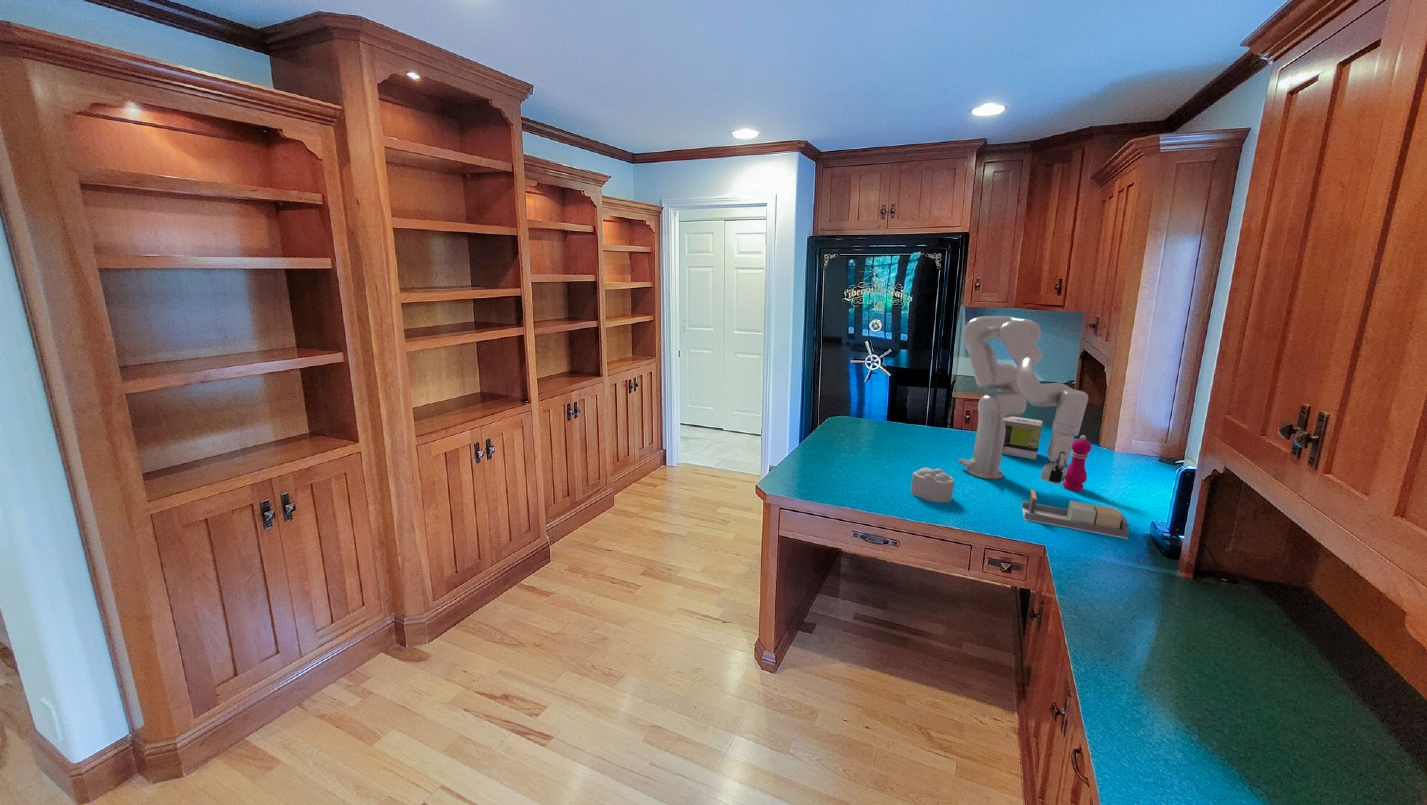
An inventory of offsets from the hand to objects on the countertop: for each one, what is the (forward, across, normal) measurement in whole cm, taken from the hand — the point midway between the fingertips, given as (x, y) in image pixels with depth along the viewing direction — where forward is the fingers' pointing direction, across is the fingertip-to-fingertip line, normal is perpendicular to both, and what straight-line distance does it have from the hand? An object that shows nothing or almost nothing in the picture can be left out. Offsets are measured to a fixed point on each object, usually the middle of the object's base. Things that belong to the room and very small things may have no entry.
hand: (1052, 476), depth 186 cm
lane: (+9, +14, +5) cm, 18 cm away
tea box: (+12, -50, -6) cm, 51 cm away
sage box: (+8, +14, +7) cm, 18 cm away
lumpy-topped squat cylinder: (+11, +11, -36) cm, 39 cm away
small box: (+1, 0, 0) cm, 1 cm away
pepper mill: (+10, -19, +10) cm, 24 cm away
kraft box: (+8, +14, +14) cm, 21 cm away
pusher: (+8, +14, -6) cm, 18 cm away
